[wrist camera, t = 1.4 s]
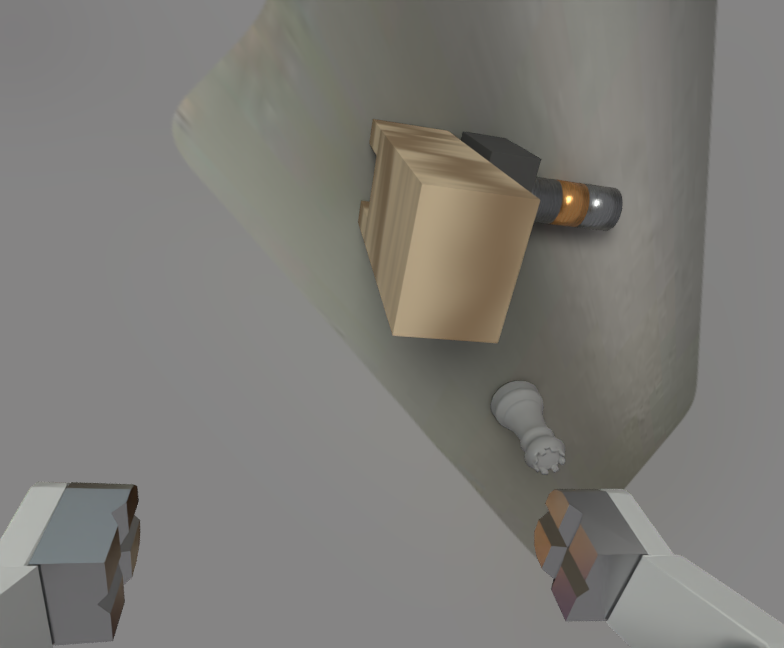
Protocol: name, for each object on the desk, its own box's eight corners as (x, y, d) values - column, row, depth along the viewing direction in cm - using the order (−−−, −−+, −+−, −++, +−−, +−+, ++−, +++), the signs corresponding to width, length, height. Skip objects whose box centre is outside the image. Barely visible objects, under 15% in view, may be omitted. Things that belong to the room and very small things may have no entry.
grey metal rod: (397, 198, 38) (404, 211, 35) (405, 154, 36) (413, 164, 34) (592, 222, 41) (612, 236, 38) (606, 183, 40) (627, 194, 37)
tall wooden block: (358, 221, 38) (392, 335, 24) (372, 119, 35) (422, 184, 21) (427, 229, 39) (497, 342, 25) (447, 130, 36) (540, 199, 22)
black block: (440, 232, 39) (463, 266, 34) (462, 131, 36) (492, 151, 31) (480, 237, 40) (508, 271, 35) (505, 138, 37) (541, 159, 31)
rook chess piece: (543, 405, 49) (584, 469, 42) (497, 425, 49) (530, 492, 43) (530, 369, 47) (570, 430, 40) (482, 390, 47) (514, 454, 40)
